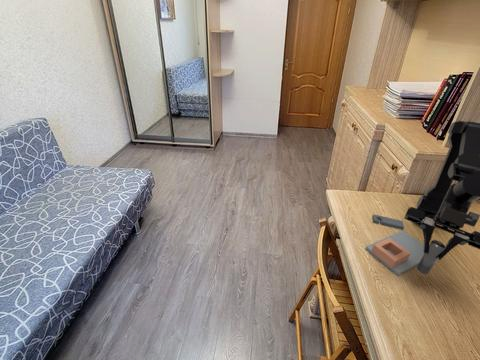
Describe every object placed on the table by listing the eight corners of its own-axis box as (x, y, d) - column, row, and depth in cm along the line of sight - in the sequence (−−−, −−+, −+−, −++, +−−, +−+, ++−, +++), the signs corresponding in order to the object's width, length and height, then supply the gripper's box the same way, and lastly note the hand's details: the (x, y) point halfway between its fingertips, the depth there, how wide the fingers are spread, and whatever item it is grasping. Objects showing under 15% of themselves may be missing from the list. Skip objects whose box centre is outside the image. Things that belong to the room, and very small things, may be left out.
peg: (420, 264, 75) (435, 238, 70) (431, 272, 73) (447, 246, 67) (414, 268, 74) (428, 242, 68) (424, 276, 71) (440, 249, 66)
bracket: (402, 231, 97) (404, 226, 96) (372, 223, 100) (373, 219, 99) (400, 224, 100) (402, 220, 99) (371, 217, 103) (373, 213, 102)
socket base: (401, 232, 95) (405, 223, 93) (434, 255, 86) (440, 246, 84) (364, 249, 87) (368, 240, 85) (397, 276, 78) (402, 266, 76)
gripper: (420, 181, 69) (395, 234, 67) (515, 212, 58) (487, 275, 57) (415, 194, 78) (393, 240, 76) (496, 222, 68) (472, 276, 66)
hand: (431, 256), depth 69 cm, fingers closed on peg, 3 cm apart
